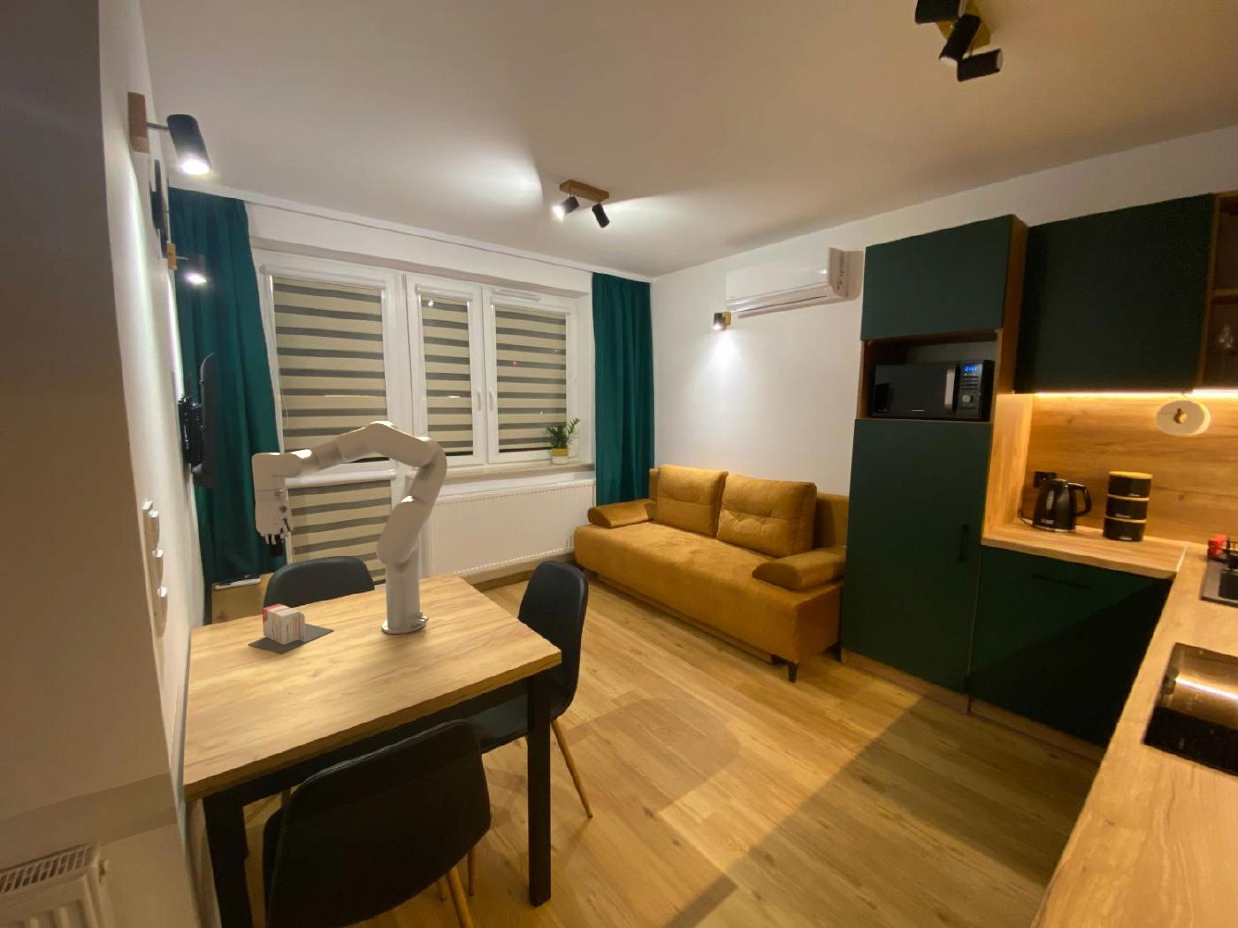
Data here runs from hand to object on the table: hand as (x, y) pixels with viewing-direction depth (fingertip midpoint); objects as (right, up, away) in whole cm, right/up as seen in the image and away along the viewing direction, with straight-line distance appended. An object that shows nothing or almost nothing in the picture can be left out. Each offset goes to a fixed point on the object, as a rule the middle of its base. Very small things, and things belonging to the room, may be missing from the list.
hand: (276, 556), depth 147 cm
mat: (+5, -24, 0) cm, 25 cm away
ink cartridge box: (-3, -19, +2) cm, 20 cm away
